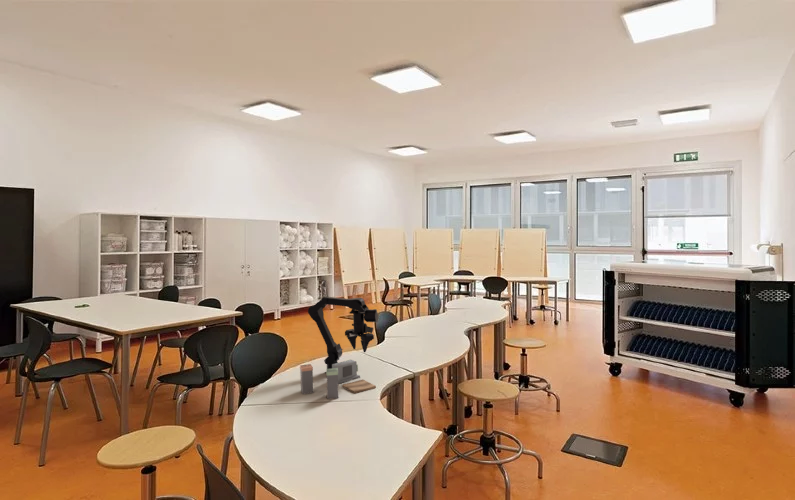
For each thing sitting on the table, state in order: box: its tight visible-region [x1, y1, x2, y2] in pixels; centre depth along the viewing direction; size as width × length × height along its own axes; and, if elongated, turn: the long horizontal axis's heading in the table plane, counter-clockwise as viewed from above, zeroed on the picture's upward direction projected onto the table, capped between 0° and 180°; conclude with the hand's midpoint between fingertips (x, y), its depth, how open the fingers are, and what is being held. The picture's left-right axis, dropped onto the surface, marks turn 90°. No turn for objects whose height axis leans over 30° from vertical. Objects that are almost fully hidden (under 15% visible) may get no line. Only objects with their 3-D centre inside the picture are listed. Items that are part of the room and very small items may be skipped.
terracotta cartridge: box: [299, 363, 314, 395], centre depth 212 cm, size 5×5×12 cm
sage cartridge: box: [325, 368, 339, 400], centre depth 205 cm, size 5×5×12 cm
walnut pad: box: [341, 379, 377, 394], centre depth 217 cm, size 12×12×1 cm
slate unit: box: [332, 359, 361, 385], centre depth 229 cm, size 8×14×8 cm, turn 132°
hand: (359, 350), depth 236 cm, fingers open, 9 cm apart
